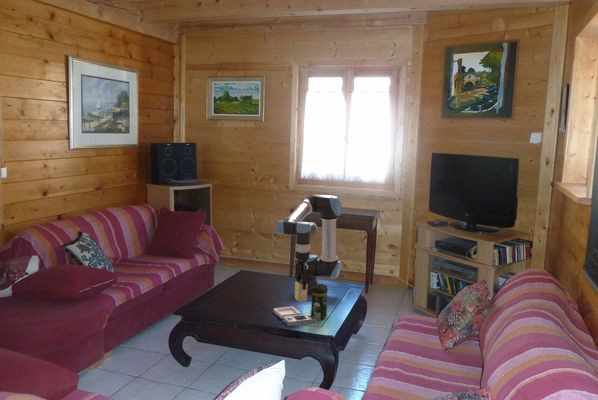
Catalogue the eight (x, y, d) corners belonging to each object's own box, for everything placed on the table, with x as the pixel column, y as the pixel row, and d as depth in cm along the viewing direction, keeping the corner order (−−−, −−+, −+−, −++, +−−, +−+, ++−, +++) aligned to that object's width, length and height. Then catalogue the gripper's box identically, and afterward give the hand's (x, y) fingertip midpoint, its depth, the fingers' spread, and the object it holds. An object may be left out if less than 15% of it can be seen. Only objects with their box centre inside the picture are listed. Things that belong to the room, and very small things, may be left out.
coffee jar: (315, 313, 293) (316, 281, 291) (328, 316, 290) (329, 284, 288) (308, 318, 285) (309, 286, 282) (321, 321, 281) (323, 288, 279)
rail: (309, 317, 286) (310, 313, 286) (316, 322, 279) (316, 318, 279) (283, 321, 280) (283, 316, 279) (288, 326, 272) (289, 321, 272)
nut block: (303, 297, 281) (303, 279, 280) (306, 300, 277) (307, 282, 275) (294, 298, 279) (295, 280, 278) (298, 301, 275) (299, 282, 273)
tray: (292, 310, 298) (292, 306, 298) (300, 316, 287) (300, 312, 287) (273, 312, 293) (273, 308, 293) (281, 319, 283) (281, 315, 282)
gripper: (289, 247, 281) (288, 289, 284) (303, 255, 265) (301, 299, 268) (302, 247, 284) (300, 288, 287) (316, 254, 268) (314, 298, 271)
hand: (301, 293), depth 278 cm, fingers closed on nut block, 5 cm apart
